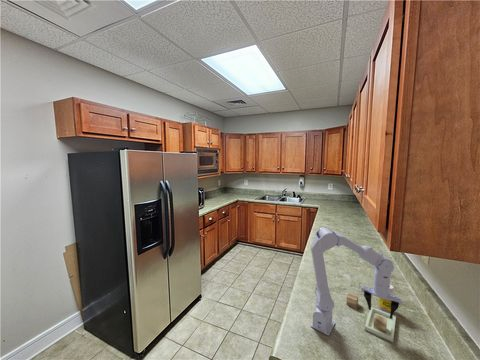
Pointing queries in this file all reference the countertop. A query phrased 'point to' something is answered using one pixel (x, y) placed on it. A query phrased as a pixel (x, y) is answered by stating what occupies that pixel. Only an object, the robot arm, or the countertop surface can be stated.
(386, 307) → the supplement bottle
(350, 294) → the cube
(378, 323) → the cube
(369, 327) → the tray
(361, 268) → the countertop surface
